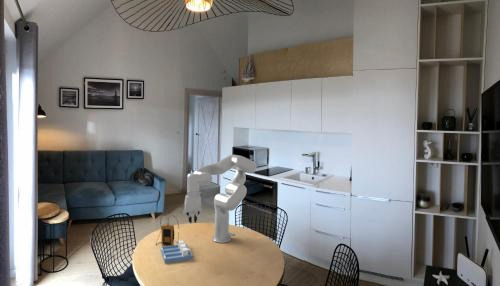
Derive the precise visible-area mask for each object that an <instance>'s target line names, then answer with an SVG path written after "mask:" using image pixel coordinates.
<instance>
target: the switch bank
mask: <svg viewBox="0 0 500 286" xmlns="http://www.w3.org/2000/svg"><path fill="white" fill-rule="evenodd" d="M184 244H185V245H186V247H187V248H188V256H182V252H180V248H178V244H173V245H172V246H167V245H164V246H160V253H161V256H162V259H163V262H164V264H170V263H177V262H184V261H192V260H194V258H193V257H194V255H193V253H192V252H191V249H190V247H189V246H188V243H184Z"/></svg>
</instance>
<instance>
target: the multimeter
mask: <svg viewBox="0 0 500 286" xmlns="http://www.w3.org/2000/svg"><path fill="white" fill-rule="evenodd" d="M164 216H165V217H166V218H167V222H166V224H162V219H163V218H162V217H163V216H161V218H160V220H159V221H160V222H159V223H160V225H161V227H160V232H159V235H158V237H157V240H156V242H155V244H158V240H159V237H160V234H161V241H160V242H159V244H160V243H161V246H173V245H175V244H174V243H177V244H178V240H177V241H176V240H175V225H174V224H170V219H169V218H170V217H175V215H171V214H170V215H169V216H167V215H166V214H164ZM175 219H176V221H177V222H176V223H177V226H178V228H180V226H179V221H178V219H177V216H176V217H175ZM179 235H180V233H178V236H177V237H178V238H177V239H179Z"/></svg>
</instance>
